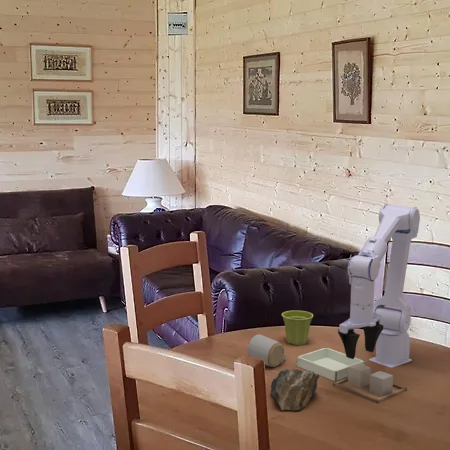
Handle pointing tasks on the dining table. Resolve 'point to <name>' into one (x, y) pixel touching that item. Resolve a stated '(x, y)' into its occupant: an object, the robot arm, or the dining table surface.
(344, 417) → the dining table surface
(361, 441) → the dining table surface
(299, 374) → the rock
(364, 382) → the stone
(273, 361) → the ceramic mug
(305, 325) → the plant pot
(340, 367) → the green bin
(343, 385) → the wooden tray
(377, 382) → the stone
